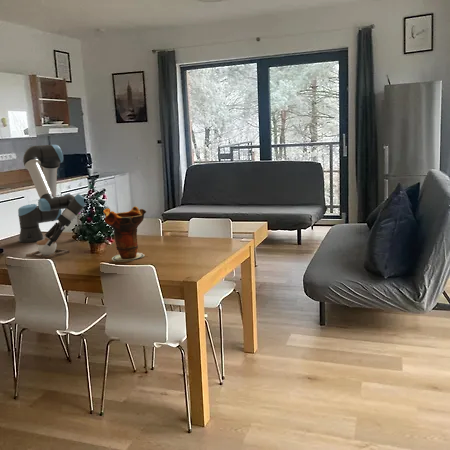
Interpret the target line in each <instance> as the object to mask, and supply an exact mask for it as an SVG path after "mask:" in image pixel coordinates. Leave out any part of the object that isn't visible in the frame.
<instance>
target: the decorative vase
mask: <svg viewBox="0 0 450 450" xmlns="http://www.w3.org/2000/svg"><path fill="white" fill-rule="evenodd" d="M146 213H147V211H146V210H145V209H143V208H140V209H139V207H138V206H133V207H132V208H131V210H129V211H123V212H122V211H121V212H115V211H112V210H111V209H110V208H104V210H103V214H104V216H105V217H104V224H107V225H108V226H109V227H111V228H112V229H113V235H114V241H115V245H116V255H114V256H113V257H112V258H111V260H112V261H113V262H131V261H135V260H137V259H141V258H143V257H145V253H144V254H143V252H138V250H139V244H138V234H137V233H138V228H139V226H140V224H141V223H142V222H143V221H144V218H145V214H146ZM117 252H118V254H117Z"/></svg>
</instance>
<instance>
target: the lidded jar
mask: <svg viewBox="0 0 450 450" xmlns="http://www.w3.org/2000/svg"><path fill="white" fill-rule="evenodd" d="M48 240H49V238H48V239H47V238H45V240H43V239H42V240H40V241H36V247H37V251H39V252H40V255H44V256H49V255H52V254H55V252H56V251H55V250H56V249H57V241H56V242H53V244H52V245H51V246H50V247H49V249H48V250H47V251H45V250H43V249H42V248H43V247H44V245H45V244H46V243H47V242H48Z"/></svg>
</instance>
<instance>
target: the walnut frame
mask: <svg viewBox="0 0 450 450" xmlns="http://www.w3.org/2000/svg"><path fill="white" fill-rule="evenodd" d="M55 252H57V253H54V254H52V255H42V254H41V253H40V252H39V250H37V251H33V252H30V253H26V254H25V257H28V258H35V259H43V258H45V259H44V260H49V259H52V258H56V257H59V256H62V255H65V254H69V253H70V250H69V249H60V248H56V250H55Z"/></svg>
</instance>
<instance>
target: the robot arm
mask: <svg viewBox="0 0 450 450" xmlns="http://www.w3.org/2000/svg"><path fill="white" fill-rule="evenodd" d="M22 160H23V161H22V162H23V165H24V168H25V170H28V173H29V175H30V178H31V180H32V183H33V185H34V188H35V190H36V192H37V194H38V197H39V199H38V201H37V204H36V203H31V204H26V205H25V204H24V205H22V206H20V207H19V208H18V210H17V212H18V215H17V216H18V220H19V229H20V231H19V236H18V241H19V243H32V242H33V243H34V242H35V243H36V242H38V241H40V240H45V238H47V239H49V240H48V242H47V243H46V244H45V245H44V247H43V248H42V249H43V250H45V251H47V250H48V249H49V247H50V246H51V245H52V244H53V242H56V243H57V241H58V239H59V238H60V236H61V235H62V233H63V232H64V230H65V229H66V227H69V226H70V224H72V221H74V220H75V219H77V215H78V213H80V212H82V210H83V209H84V208H85V206H86V205H85V203H84V199H86V198H85V197H84V196H82V195H81V194H80V193H78V194H76V195H72V194H69V193H66V194H64V195H61V196H57V186H58V185H57V184H58V183H57V182H58V181H57V180H58V179H57V178H58V174H57V173H58V169H59V168H60V164H61V163H63V162H64V155H63V151H62V148H61V147H60V146H59V145H58V144H43V145H41V144H40V145H32V146H30V147H28V148H27V149H26V151H25V152H24V155H23V159H22ZM84 205H85V206H84ZM56 221H58V222H56ZM48 222H49V223H50V222H55V223H54V225H52V227H51V228H50V229H49V230H48V231H47V232H46V233H45V235H44V234H43V232H42V230H41V228H40V224H42V223H48ZM65 226H66V227H65Z"/></svg>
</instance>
